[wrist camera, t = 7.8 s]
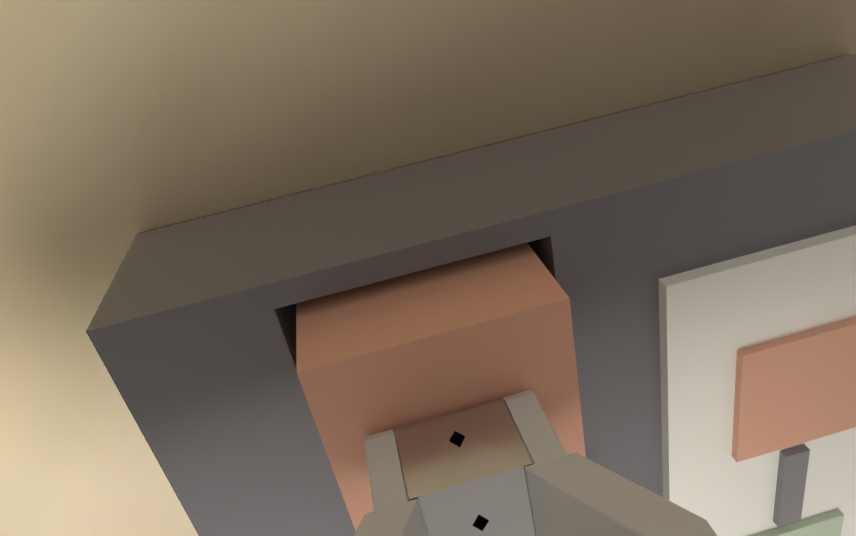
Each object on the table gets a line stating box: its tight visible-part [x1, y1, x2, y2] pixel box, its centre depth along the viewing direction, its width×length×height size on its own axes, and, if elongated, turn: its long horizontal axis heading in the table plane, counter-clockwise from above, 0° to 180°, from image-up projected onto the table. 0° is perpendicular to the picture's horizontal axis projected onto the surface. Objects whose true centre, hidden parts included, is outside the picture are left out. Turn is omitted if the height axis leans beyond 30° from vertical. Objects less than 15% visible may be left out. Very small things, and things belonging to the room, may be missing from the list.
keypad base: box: [86, 54, 856, 536], centre depth 17 cm, size 17×17×4 cm
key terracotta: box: [296, 243, 586, 531], centre depth 13 cm, size 4×4×4 cm
